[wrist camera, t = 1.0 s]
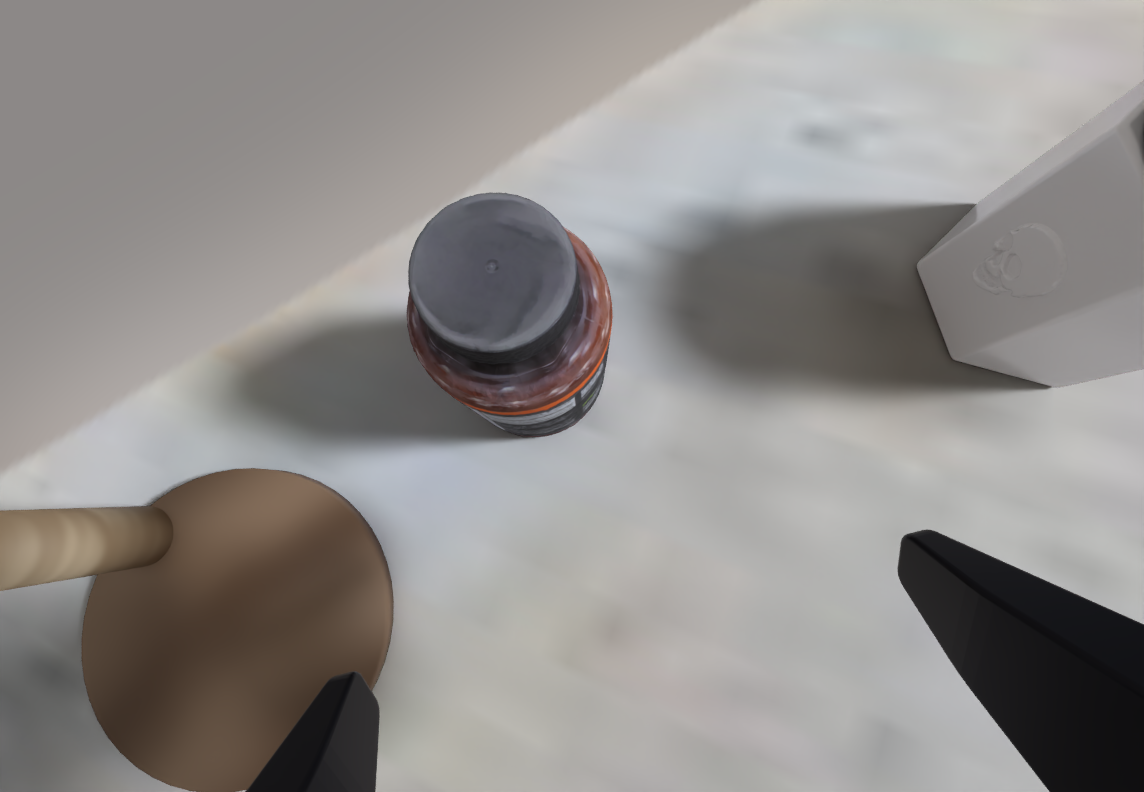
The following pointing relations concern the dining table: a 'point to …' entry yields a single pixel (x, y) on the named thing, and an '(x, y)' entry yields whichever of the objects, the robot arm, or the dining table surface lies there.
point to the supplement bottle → (510, 313)
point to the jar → (1052, 261)
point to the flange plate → (213, 614)
